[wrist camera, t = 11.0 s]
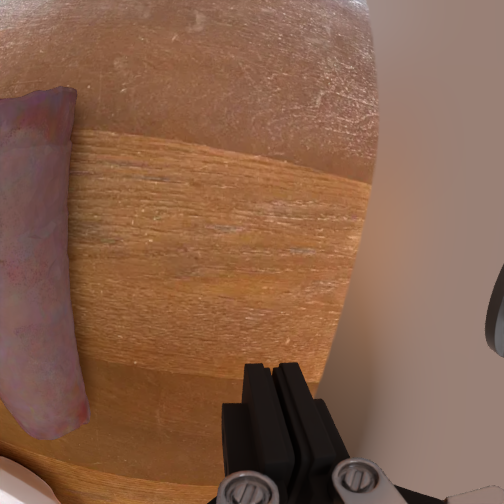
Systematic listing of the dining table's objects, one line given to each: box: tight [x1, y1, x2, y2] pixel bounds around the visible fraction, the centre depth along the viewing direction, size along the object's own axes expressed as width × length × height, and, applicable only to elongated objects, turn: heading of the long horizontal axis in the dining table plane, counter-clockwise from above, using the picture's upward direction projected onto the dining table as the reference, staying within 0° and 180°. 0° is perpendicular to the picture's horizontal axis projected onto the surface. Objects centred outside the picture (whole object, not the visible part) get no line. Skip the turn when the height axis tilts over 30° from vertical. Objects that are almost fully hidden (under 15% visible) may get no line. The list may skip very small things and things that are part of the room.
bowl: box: [0, 456, 61, 504], centre depth 20 cm, size 20×20×7 cm
